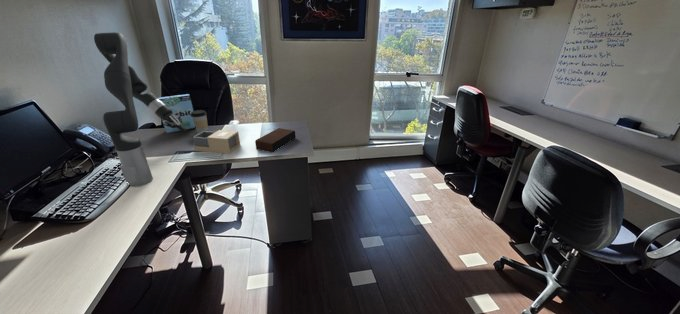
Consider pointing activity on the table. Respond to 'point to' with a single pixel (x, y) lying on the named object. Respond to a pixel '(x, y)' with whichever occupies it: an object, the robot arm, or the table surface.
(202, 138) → the tray
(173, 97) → the gum box
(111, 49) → the robot arm
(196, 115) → the coffee cup
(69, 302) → the table surface
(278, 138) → the brown brick
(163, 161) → the table surface
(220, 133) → the mailer sleeve
